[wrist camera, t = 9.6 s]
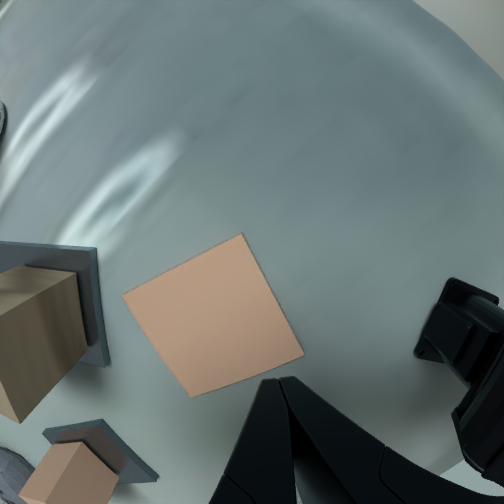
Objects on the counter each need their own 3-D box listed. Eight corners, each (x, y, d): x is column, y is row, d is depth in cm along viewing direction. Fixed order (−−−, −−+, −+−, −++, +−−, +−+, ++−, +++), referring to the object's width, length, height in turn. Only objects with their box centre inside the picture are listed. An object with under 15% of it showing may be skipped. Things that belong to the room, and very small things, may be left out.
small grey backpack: (12, 440, 26) (-27, 435, 28) (-14, 472, 18) (-47, 457, 20) (74, 502, 29) (21, 488, 31) (58, 535, 20) (6, 512, 23)
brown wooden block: (76, 272, 18) (-18, 326, 9) (88, 350, 19) (20, 424, 10) (19, 265, 18) (-66, 304, 9) (32, 335, 19) (-36, 390, 10)
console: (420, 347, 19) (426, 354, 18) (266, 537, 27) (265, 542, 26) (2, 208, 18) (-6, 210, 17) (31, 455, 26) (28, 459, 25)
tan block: (81, 441, 22) (44, 502, 13) (119, 477, 23) (93, 537, 14) (52, 444, 22) (18, 495, 14) (87, 477, 23) (60, 529, 15)
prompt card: (242, 232, 18) (241, 234, 17) (303, 350, 20) (304, 355, 19) (125, 293, 19) (121, 295, 19) (192, 392, 21) (190, 397, 20)
